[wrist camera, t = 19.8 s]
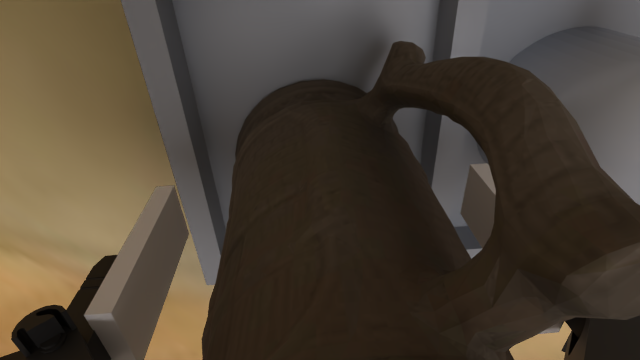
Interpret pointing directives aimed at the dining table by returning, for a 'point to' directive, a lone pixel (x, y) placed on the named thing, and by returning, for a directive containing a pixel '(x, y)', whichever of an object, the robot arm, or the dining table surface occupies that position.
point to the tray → (321, 77)
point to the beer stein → (414, 223)
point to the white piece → (595, 93)
